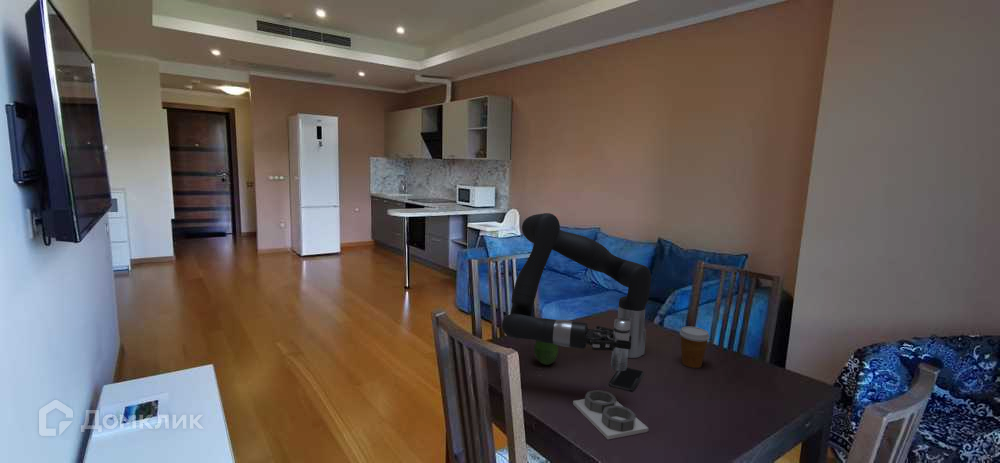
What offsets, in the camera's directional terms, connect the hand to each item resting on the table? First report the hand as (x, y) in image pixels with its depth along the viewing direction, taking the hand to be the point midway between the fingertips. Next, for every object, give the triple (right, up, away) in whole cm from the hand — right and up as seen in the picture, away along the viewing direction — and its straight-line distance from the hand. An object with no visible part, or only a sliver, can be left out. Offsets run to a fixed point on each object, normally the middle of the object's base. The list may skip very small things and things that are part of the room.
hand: (630, 342), depth 134 cm
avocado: (-21, -14, +27) cm, 37 cm away
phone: (+3, -16, +17) cm, 24 cm away
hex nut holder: (-8, -19, -6) cm, 21 cm away
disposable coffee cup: (+29, -15, +30) cm, 45 cm away
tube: (-3, -8, +2) cm, 8 cm away
